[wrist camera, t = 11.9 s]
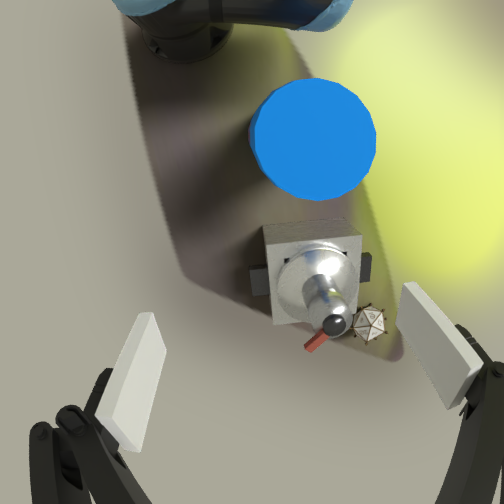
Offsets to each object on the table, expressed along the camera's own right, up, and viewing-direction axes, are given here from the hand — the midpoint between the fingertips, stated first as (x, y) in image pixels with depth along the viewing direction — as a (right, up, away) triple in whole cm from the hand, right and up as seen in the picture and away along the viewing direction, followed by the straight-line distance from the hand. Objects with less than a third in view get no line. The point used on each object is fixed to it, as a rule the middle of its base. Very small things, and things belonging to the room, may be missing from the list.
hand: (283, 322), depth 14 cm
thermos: (+3, +23, +30) cm, 38 cm away
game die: (+23, -10, +46) cm, 52 cm away
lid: (+9, 0, +34) cm, 35 cm away
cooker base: (+8, +2, +39) cm, 40 cm away
